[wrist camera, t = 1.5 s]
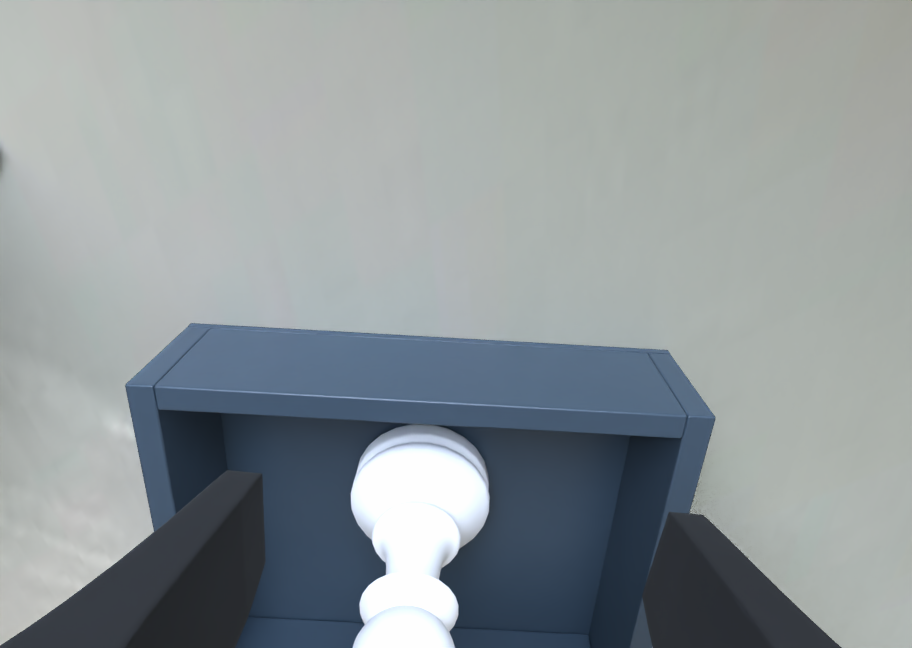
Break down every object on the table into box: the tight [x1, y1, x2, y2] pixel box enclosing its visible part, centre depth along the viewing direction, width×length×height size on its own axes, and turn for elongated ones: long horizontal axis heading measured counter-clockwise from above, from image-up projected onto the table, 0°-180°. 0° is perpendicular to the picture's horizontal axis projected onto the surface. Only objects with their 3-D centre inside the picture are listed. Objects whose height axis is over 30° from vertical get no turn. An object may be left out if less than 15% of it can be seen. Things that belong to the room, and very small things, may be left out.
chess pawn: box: [350, 424, 490, 648], centre depth 18 cm, size 5×5×9 cm
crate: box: [125, 323, 715, 648], centre depth 21 cm, size 17×15×4 cm
